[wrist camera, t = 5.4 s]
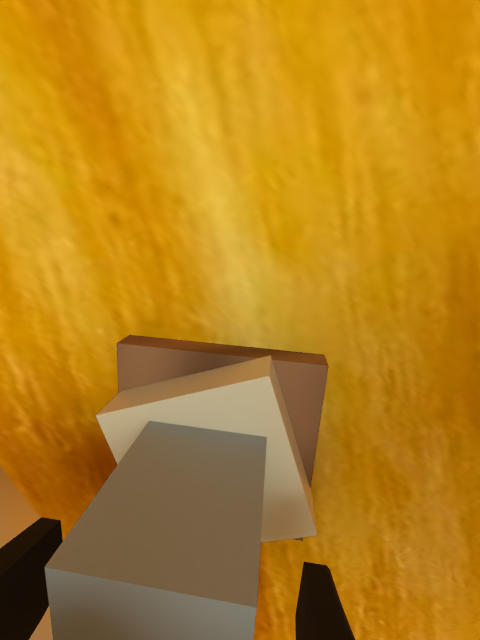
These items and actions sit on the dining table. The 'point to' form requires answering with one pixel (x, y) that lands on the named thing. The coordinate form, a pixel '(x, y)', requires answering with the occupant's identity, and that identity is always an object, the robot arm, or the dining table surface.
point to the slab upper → (232, 416)
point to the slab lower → (193, 357)
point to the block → (166, 542)
